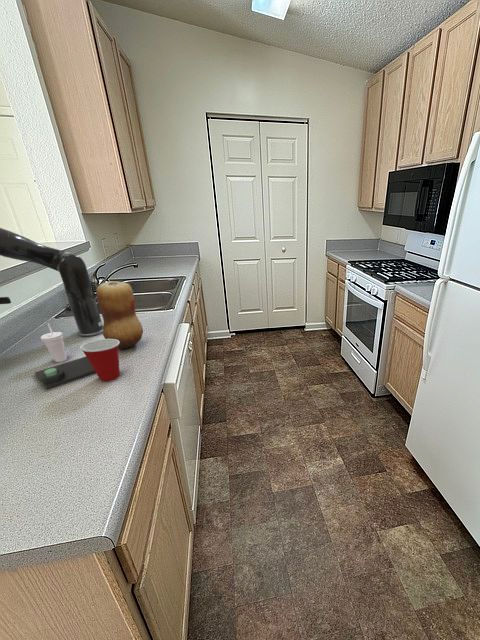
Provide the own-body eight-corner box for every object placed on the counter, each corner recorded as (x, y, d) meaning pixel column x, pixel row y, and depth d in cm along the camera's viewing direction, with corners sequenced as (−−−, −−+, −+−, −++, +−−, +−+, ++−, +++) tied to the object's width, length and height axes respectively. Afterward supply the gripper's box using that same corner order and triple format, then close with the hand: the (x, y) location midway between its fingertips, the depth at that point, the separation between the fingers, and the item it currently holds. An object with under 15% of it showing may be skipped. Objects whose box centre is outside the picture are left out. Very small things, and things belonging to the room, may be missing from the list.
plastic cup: (136, 371, 111) (126, 338, 105) (110, 387, 102) (98, 352, 96) (111, 367, 114) (100, 334, 109) (83, 382, 105) (70, 348, 99)
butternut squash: (142, 351, 124) (125, 285, 113) (104, 356, 122) (82, 289, 111) (149, 337, 136) (134, 277, 125) (114, 341, 134) (95, 279, 123)
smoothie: (61, 364, 116) (46, 327, 110) (45, 363, 118) (30, 326, 111) (75, 356, 122) (62, 320, 116) (60, 355, 123) (47, 319, 117)
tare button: (44, 375, 104) (43, 370, 104) (56, 371, 106) (54, 367, 106) (47, 378, 102) (45, 373, 102) (59, 374, 104) (57, 370, 104)
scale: (35, 375, 110) (32, 367, 108) (88, 358, 120) (86, 351, 119) (47, 390, 101) (43, 381, 100) (103, 370, 112) (100, 363, 110)
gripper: (-79, 300, 99) (-17, 297, 101) (-42, 288, 112) (13, 285, 113) (-66, 324, 102) (-6, 320, 104) (-31, 309, 115) (22, 306, 117)
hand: (4, 302), depth 109 cm, fingers open, 4 cm apart
